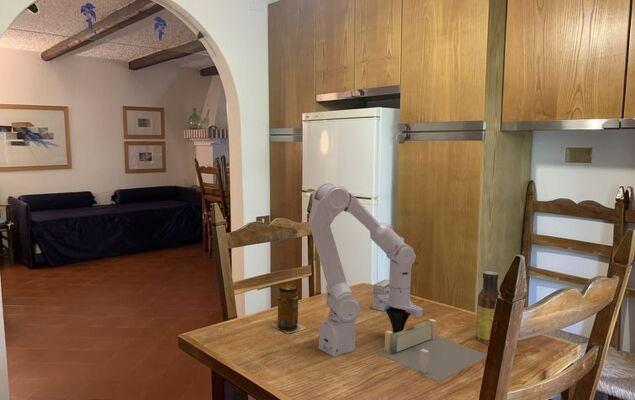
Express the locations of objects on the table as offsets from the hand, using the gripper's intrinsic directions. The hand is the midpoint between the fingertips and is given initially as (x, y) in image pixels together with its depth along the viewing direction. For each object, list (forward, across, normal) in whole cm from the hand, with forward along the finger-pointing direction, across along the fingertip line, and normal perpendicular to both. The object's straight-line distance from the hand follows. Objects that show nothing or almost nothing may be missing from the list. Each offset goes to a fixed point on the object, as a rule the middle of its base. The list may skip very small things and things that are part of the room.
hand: (397, 334), depth 126 cm
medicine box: (+3, +22, -19) cm, 29 cm away
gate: (+2, -5, 0) cm, 5 cm away
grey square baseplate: (+3, -11, -1) cm, 11 cm away
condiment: (+3, +28, +17) cm, 32 cm away
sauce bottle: (+3, -15, -21) cm, 26 cm away
